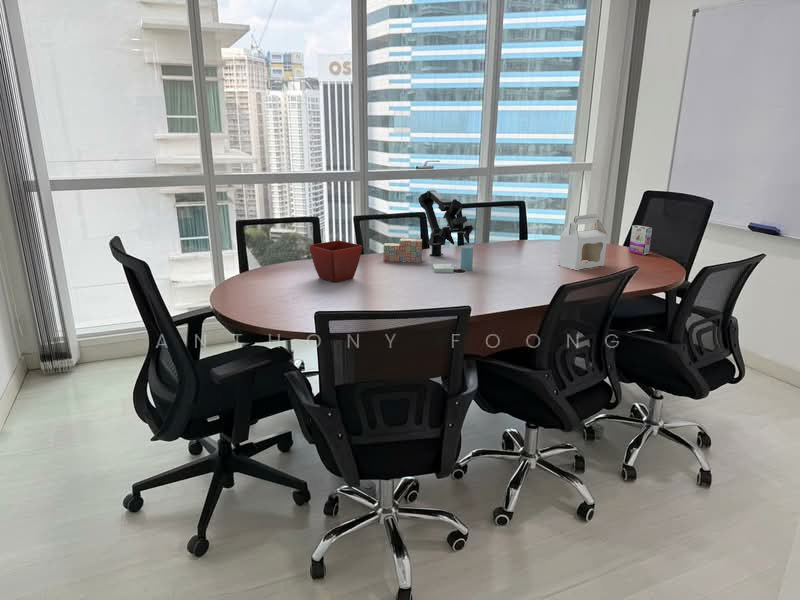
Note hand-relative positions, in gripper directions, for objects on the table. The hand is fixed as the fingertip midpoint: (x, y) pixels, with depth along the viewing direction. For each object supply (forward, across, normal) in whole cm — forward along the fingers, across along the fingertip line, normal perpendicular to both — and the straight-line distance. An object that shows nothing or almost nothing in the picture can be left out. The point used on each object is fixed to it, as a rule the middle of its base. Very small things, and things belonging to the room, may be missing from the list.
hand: (461, 243), depth 308 cm
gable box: (+26, +62, -8) cm, 68 cm away
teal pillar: (+13, 0, +4) cm, 14 cm away
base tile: (+11, -13, +6) cm, 18 cm away
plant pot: (+7, -70, +11) cm, 71 cm away
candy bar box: (+19, +116, 0) cm, 117 cm away
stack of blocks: (-8, -24, +26) cm, 36 cm away
